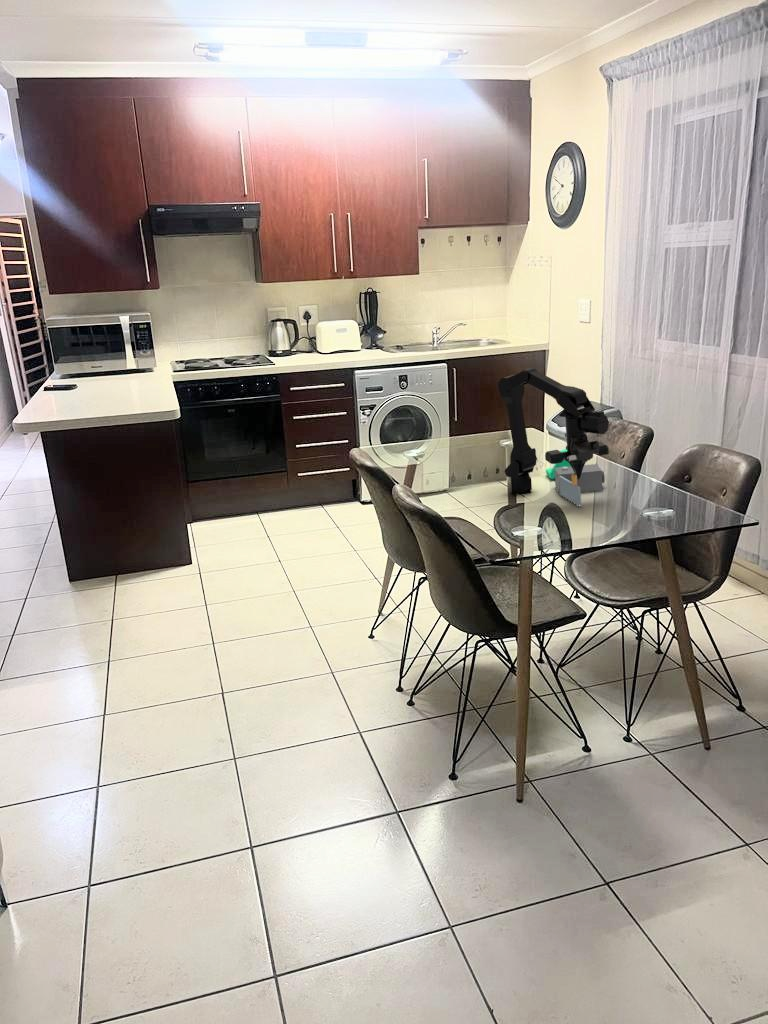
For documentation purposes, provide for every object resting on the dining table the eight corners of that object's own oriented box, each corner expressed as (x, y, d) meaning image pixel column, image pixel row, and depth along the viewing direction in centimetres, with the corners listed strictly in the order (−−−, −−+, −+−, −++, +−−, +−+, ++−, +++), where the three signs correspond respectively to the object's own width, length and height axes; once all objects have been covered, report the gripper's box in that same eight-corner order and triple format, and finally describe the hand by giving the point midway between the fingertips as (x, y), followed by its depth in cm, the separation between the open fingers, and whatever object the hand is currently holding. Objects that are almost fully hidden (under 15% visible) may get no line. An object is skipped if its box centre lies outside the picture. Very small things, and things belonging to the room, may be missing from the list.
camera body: (559, 494, 248) (558, 472, 246) (555, 487, 256) (554, 466, 253) (606, 490, 247) (605, 468, 244) (600, 483, 254) (600, 461, 252)
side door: (558, 494, 248) (557, 466, 245) (561, 493, 248) (560, 466, 245) (578, 506, 235) (577, 477, 231) (581, 506, 235) (580, 477, 232)
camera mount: (578, 471, 270) (578, 444, 267) (584, 477, 263) (584, 449, 259) (545, 475, 270) (544, 448, 267) (550, 481, 263) (549, 453, 260)
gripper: (555, 441, 222) (559, 491, 227) (615, 431, 224) (617, 480, 229) (543, 433, 233) (546, 481, 238) (600, 423, 234) (602, 471, 239)
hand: (578, 479), depth 236 cm, fingers closed
